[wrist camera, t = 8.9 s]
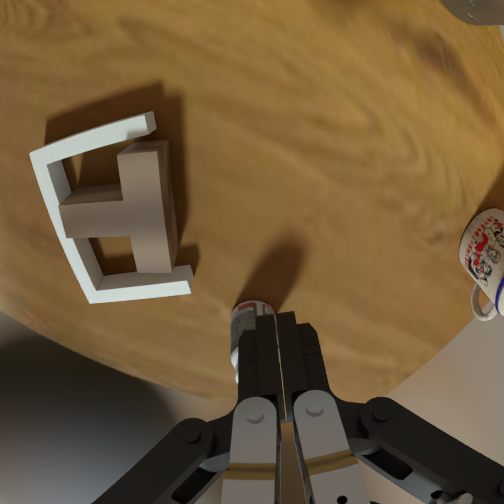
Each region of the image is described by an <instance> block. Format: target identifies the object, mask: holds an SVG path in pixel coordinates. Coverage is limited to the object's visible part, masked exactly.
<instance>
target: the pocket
mask: <svg viewBox="0 0 504 504" xmlns="http://www.w3.org/2000/svg"><path fill="white" fill-rule="evenodd" d="M155 129H157V128H156V123H155V118H154V113H153V111H151V112H147V113H143V114H139V115H135V116H131V117H128V118H124V119H120V120H117V121H114V122H110V123H107V124H104V125H100V126H97V127H94V128H91V129H88V130H85V131H82V132H79V133H76V134H73V135H70V136H68V137H65V138H62V139H59V140H57V141H54V142H52V143H49V144H46V145H44V146H42V147H40V148H38V149H36V150H34V151H32V152H30V153H29V154H30V158H31V161H32V165H33V168H34V171H35V174H36V177H37V181H38V184H39V187H40V190H41V192H42V195H43V198H44V201H45V204H46V206H47V209H48V212H49V215H50V217H51V220H52V222H53V225H54V227H55V230H56V232H57V235H58V237H59V239H60V242H61V244H62V247H63V249H64V251H65V253H66V256H67V258H68V260H69V262H70V264H71V267H72V269H73V271H74V273H75V275H76V277H77V279H78V281H79V283H80V285H81V287H82V289H83V291H84V293H85V295H86V297H87V299H88V301H89V303H90V304H92V303H103V302H114V301H125V300H135V299H145V298H155V297H164V296H173V295H182V294H191V291H192V285H193V280H194V276H193V272H192V269H191V265H183V266H176V267H174V268H173V271H172V273H138V272H130V273H122V274H114V275H107V276H104V275H103V273H102V271H101V268H100V266H99V264H98V261H97V259H96V257H95V254H94V252H93V249H92V247H91V244H90V242H89V239H88V238H66V235H65V231H64V228H63V224H62V220H61V216H60V212H59V208H58V205H59V204H60V203H61V202H63V201H64V200H65V199H66V198H67V197H68V196H69V195H70V194H71V190H70V186H69V183H68V180H67V177H66V174H65V171H64V167H63V164H62V160H61V159H64V158H67V157H70V156H73V155H76V154H79V153H82V152H86V151H89V150H92V149H95V148H99V147H102V146H106V145H109V144H113V143H117V142H120V141H124V140H128V139H132V138H136V137H140V136H144V135H148V134H150V133H151V132H153V131H154V130H155Z"/></svg>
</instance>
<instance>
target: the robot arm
mask: <svg viewBox="0 0 504 504" xmlns="http://www.w3.org/2000/svg"><path fill="white" fill-rule="evenodd" d="M441 2H442V3H443V4H444V5H445V6H446V7H447V9H448V10H449V11H451V12H452V13H453V14H454V15H455V16H457V17H458V18H460V19H461V20H463V21H465V22H467V23H469V24H473V25H487V26H495V25H504V0H441ZM276 323H277V333H278V342H279V351H280V360H281V369H282V377H283V386H284V395H285V404H286V413H287V422H293V426H294V435H295V444H296V449H297V454H298V459H299V464H300V469H301V474H302V478H303V484H304V492H305V497H306V503H307V504H379V503H376V502H372V501H370V500H369V497H368V494H367V490H366V487H365V483H364V479H363V476H362V473H361V469H360V466H359V463H358V460H357V458H358V459H359V460H361V461H362V462H364V463H365V464H367V465H368V466H369V467H371V468H372V469H374V470H375V471H376V472H378V473H379V474H381V475H382V476H384V477H385V478H387V479H388V480H390V481H391V482H393V483H394V484H396V485H397V486H399V487H400V488H402V489H403V490H405V491H406V492H408V493H410V494H411V495H413V496H414V497H416V498H417V499H419V500H421V501H422V502H424V503H426V504H504V466H502V465H500V464H498V463H497V462H495V461H493V460H491V459H490V458H488V457H486V456H484V455H483V454H481V453H479V452H477V451H476V450H474V449H472V448H470V447H469V446H467V445H465V444H463V443H462V442H460V441H458V440H457V439H455V438H453V437H452V436H450V435H448V434H447V433H445V432H443V431H442V430H440V429H438V428H437V427H435V426H434V425H432V424H430V423H429V422H427V421H425V420H424V419H422V418H421V417H419V416H417V415H416V414H414V413H412V412H411V411H409V410H408V409H406V408H405V407H403V406H401V405H400V404H398V403H397V402H395V401H394V400H392V399H390V398H387V397H376V398H373V399H371V400H369V401H368V402H366V403H365V404H364V403H354V402H346V401H343V400H341V399H339V398H338V397H336V396H335V395H334V394H333V393H332V391H331V390H330V387H329V384H328V379H327V375H326V370H325V366H324V361H323V357H322V354H321V348H320V345H319V340H318V335H317V332H316V330H315V329H314V328H313V327H312V326H311V325H310V323H303V324H296V318H295V313H294V311H291V312H283V313H276ZM280 423H286V421H285V410H284V399H283V389H282V380H281V371H280V362H279V353H278V344H277V336H276V327H275V318H274V314H267V315H258V316H256V329H253V330H244V331H243V332H242V334H241V336H240V338H239V340H238V401H237V404H236V406H235V407H234V409H233V410H232V411H231V412H230V413H229V414H227V415H226V416H223V417H221V418H218V419H215V420H212V421H209V422H205V421H204V420H201V419H198V418H189V419H185V420H183V421H181V422H179V424H177V425H176V426H175V427H174V428H173V429H172V430H171V431H170V432H169V433H168V434H167V435H166V436H165V437H164V438H163V439H162V440H161V441H160V442H159V443H158V444H157V445H156V446H155V447H154V448H152V450H150V451H149V452H148V453H147V454H146V455H145V456H144V457H143V458H142V459H141V460H140V461H139V462H138V463H137V464H136V465H134V466H133V467H132V468H131V469H130V470H129V471H128V472H127V473H126V474H125V475H124V476H122V477H121V478H120V479H119V480H118V481H117V482H116V483H115V484H114V485H113V486H111V487H110V488H109V489H108V490H107V491H106V492H104V493H103V494H102V495H101V496H100V497H99V498H98V499H97V500H95V501H94V502H93V503H92V504H194V503H195V502H196V501H197V500H198V499H199V498H200V497H201V496H202V494H204V493H205V491H206V490H207V489H208V488H209V487H210V486H211V485H212V484H213V483H214V482H215V481H216V480H217V479H218V478H219V477H220V476H221V474H222V473H223V472H224V471H225V470H226V471H225V474H224V479H223V489H222V500H221V504H281V489H280V462H281V461H280V460H281V457H280V456H281V453H280V452H281V451H280V450H281V445H280V444H281V439H282V435H281V425H280ZM356 457H357V458H356ZM227 468H228V469H227Z"/></svg>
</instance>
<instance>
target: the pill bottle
mask: <svg viewBox="0 0 504 504" xmlns="http://www.w3.org/2000/svg"><path fill="white" fill-rule="evenodd" d="M267 314H274V311H273V309H272V308H271V307H270V306H269V305H268V304H266V303H264V302H261V301H255V300H252V301H246V302H243V303H241V304H239V305H238V306H236V307H235V309H234V310H233V311H232V313H231V362H232V364H233V366H234V367H235V377H236V382H237V383H238V340H239V338H240V336H241V334H242V332H243V331H244V330H253V329H256V316H258V315H267ZM274 318H275V314H274ZM275 327H276V336H277V344H278V353H279V362H280V351H279V342H278V333H277V326H276V319H275Z"/></svg>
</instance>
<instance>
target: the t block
mask: <svg viewBox="0 0 504 504" xmlns="http://www.w3.org/2000/svg"><path fill="white" fill-rule="evenodd" d="M117 160H118V168H119V175H120V182H121V183H120V184H108V185H97V186H87V187H78V188H77V189H76V190H75V191H74V192H72V193H71V194H70V195H69V196H68V197H67V198H66V199H65V200H64V201H63V202H61V203H60V204H59V205H58V208H59V212H60V216H61V220H62V224H63V228H64V231H65V235H66V238H90V237H118V236H130V239H131V244H132V249H133V254H134V258H135V263H136V267H137V272H138V273H172V271H173V268H174V264H175V260H176V257H177V253H178V250H179V242H178V234H177V225H176V216H175V207H174V197H173V186H172V175H171V163H170V150H169V139H168V140H155V141H143V142H133V143H132V144H131V145H129V146H128V147H127V148H125V149H124V150H123V151H121V152H120V153H119V154H118V155H117Z"/></svg>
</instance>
